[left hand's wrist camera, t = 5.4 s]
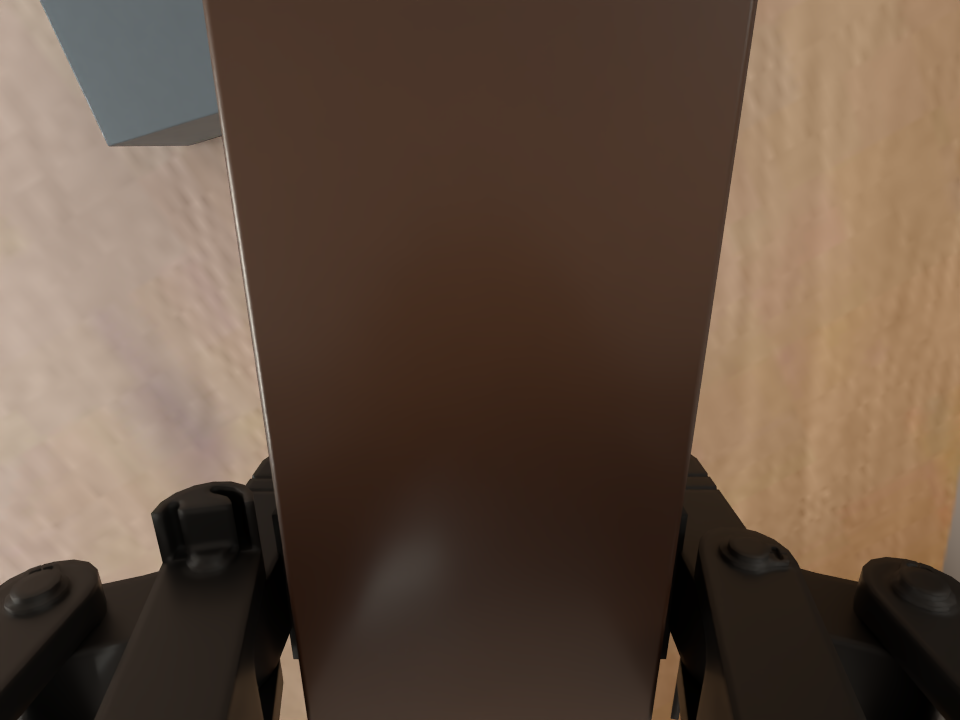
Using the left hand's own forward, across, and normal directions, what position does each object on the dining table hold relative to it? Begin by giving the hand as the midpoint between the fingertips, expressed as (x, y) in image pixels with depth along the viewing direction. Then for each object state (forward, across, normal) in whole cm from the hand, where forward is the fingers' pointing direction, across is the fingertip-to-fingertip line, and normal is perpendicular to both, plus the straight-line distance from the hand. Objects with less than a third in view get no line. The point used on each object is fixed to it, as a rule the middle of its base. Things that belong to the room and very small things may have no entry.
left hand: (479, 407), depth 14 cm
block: (+10, +10, -9) cm, 17 cm away
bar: (0, 0, -9) cm, 9 cm away
